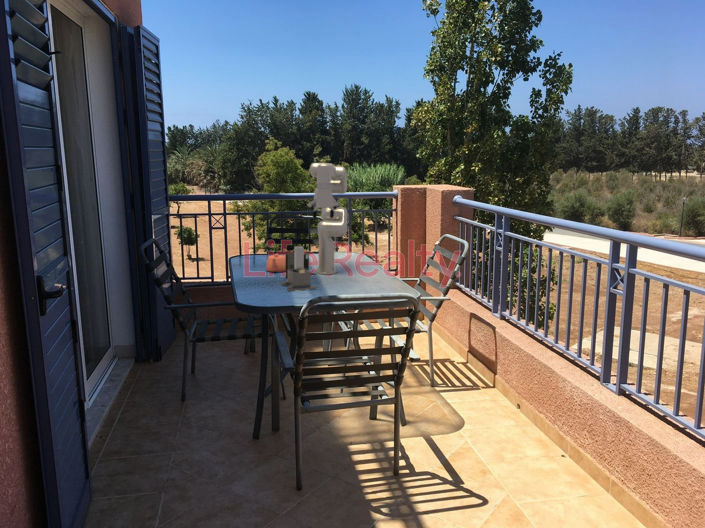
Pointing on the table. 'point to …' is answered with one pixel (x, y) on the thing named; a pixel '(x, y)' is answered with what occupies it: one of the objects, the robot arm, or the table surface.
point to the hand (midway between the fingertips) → (323, 218)
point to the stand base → (298, 280)
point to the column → (298, 258)
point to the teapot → (276, 263)
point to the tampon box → (291, 261)
